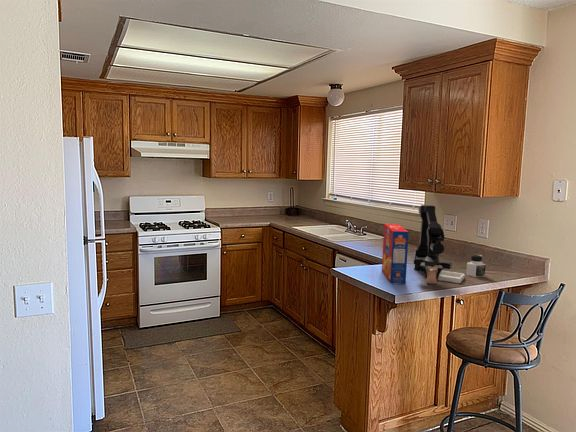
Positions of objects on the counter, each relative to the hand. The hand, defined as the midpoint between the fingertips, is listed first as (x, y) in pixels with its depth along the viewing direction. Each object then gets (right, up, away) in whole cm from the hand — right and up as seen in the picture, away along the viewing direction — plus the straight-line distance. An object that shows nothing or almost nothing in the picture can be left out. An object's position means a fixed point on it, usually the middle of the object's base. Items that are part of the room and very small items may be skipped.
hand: (431, 279), depth 235 cm
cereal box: (-18, -1, +11) cm, 21 cm away
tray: (+13, -1, +10) cm, 16 cm away
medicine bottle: (+31, -1, +19) cm, 36 cm away
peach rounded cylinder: (0, -2, 0) cm, 2 cm away
